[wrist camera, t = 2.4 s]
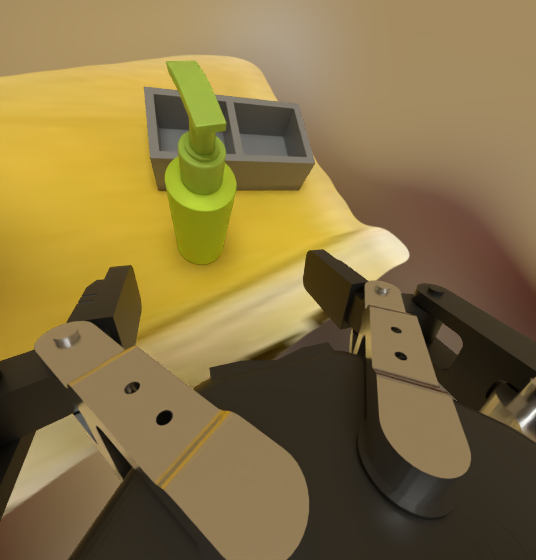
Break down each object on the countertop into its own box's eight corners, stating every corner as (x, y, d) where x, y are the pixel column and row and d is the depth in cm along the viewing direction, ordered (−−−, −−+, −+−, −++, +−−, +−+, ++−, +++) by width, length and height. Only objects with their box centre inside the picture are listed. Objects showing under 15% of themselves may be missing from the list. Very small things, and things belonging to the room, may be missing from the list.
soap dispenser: (211, 213, 34) (225, 51, 16) (229, 257, 33) (267, 137, 15) (168, 223, 32) (128, 52, 14) (186, 270, 31) (168, 151, 13)
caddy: (158, 190, 33) (150, 158, 28) (152, 127, 36) (143, 86, 30) (298, 190, 40) (315, 163, 34) (285, 136, 42) (298, 103, 37)
